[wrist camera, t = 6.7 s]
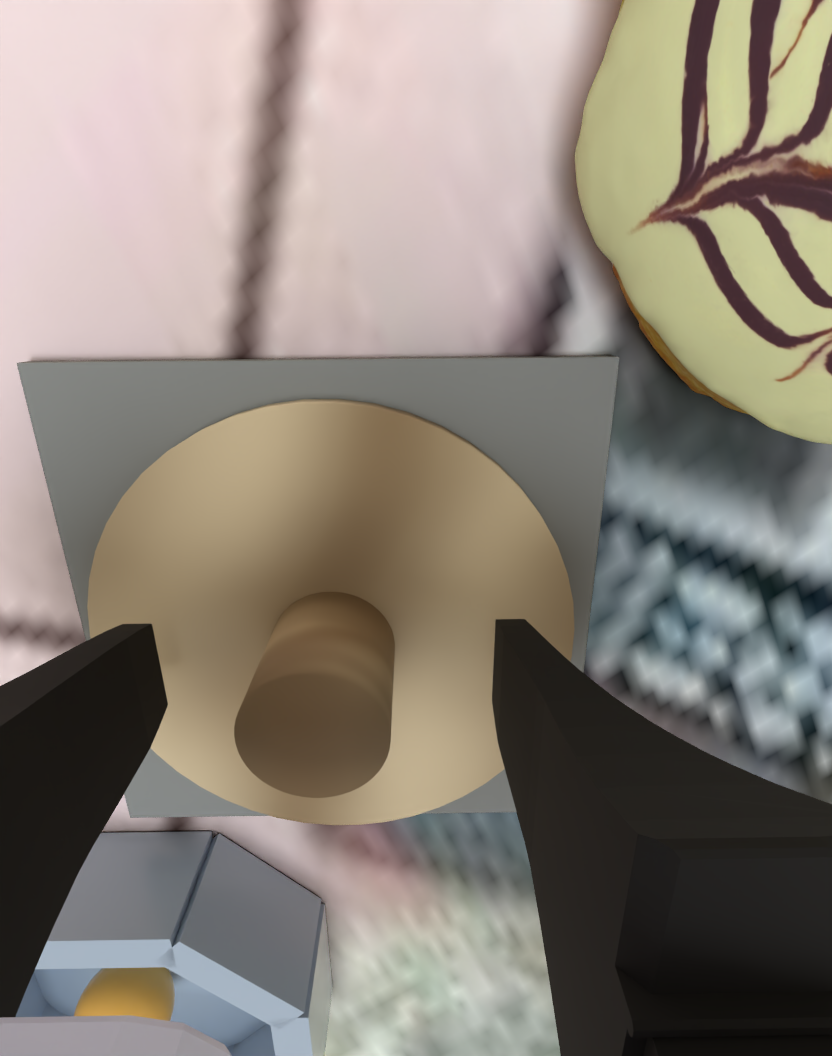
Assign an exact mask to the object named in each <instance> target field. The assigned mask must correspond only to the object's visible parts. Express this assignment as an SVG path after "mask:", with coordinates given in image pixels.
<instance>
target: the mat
mask: <svg viewBox="0 0 832 1056" xmlns="http://www.w3.org/2000/svg"><path fill="white" fill-rule="evenodd" d="M17 366H18V370H19V374H20V378H21V382H22V386H23V390H24V394H25V398H26V402H27V406H28V410H29V414H30V418H31V422H32V426H33V430H34V434H35V438H36V442H37V446H38V450H39V454H40V458H41V462H42V466H43V470H44V474H45V478H46V482H47V486H48V490H49V494H50V498H51V502H52V506H53V510H54V514H55V518H56V522H57V526H58V530H59V534H60V538H61V542H62V546H63V550H64V554H65V558H66V562H67V566H68V570H69V574H70V578H71V582H72V586H73V590H74V594H75V598H76V602H77V606H78V610H79V614H80V618H81V622H82V626H83V630H84V634H85V638H86V641H87V640H89V639H91V638H90V631H89V620H88V609H87V604H88V588H89V577H90V572H91V568H92V563H93V559H94V554H95V550H96V548H97V545H98V543H99V540H100V538H101V535H102V533H103V530H104V528H105V525H106V523H107V521H108V520H109V518H110V516H111V515H112V513H113V511H114V510H115V508H116V506H117V505H118V503H119V501H120V500H121V498H122V496H123V495H124V494H125V493H126V492H127V490H128V489H129V488H130V487H131V486H132V485H133V483H134V482H135V481H136V480H137V479H138V477H139V476H140V475H141V474H142V473H143V472H144V471H145V470H146V469H147V468H148V467H150V466H151V465H152V464H153V463H154V462H155V461H157V460H158V459H159V458H160V457H161V456H162V455H163V454H165V453H166V452H167V451H168V450H170V449H171V448H173V447H175V446H176V445H178V444H179V443H181V442H182V441H184V440H186V439H187V438H189V437H190V436H192V435H194V434H195V433H197V432H199V431H200V430H202V429H204V428H206V427H208V426H210V425H212V424H214V423H217V422H219V421H221V420H223V419H226V418H228V417H230V416H232V415H235V414H237V413H240V412H244V411H247V410H251V409H254V408H258V407H261V406H265V405H268V404H274V403H281V402H288V401H295V400H302V399H344V400H352V401H360V402H368V403H375V404H379V405H383V406H387V407H391V408H394V409H398V410H402V411H406V412H409V413H412V414H414V415H417V416H419V417H422V418H424V419H426V420H429V421H431V422H434V423H436V424H439V425H441V426H443V427H445V428H446V429H448V430H450V431H452V432H453V433H455V434H457V435H459V436H460V437H462V438H464V439H466V440H467V441H469V442H471V443H472V444H473V445H475V446H476V447H477V448H478V449H480V450H481V451H482V452H484V453H485V454H486V455H488V456H489V457H490V458H491V459H493V460H494V461H495V462H497V463H498V464H499V465H500V466H501V467H502V468H503V469H504V470H505V472H506V473H507V474H508V475H509V476H510V477H511V478H512V479H513V480H514V481H515V482H516V483H517V484H518V485H519V486H520V487H521V489H522V490H523V491H524V493H525V494H526V495H527V497H528V498H529V499H530V501H531V502H532V503H533V505H534V506H535V507H536V509H537V510H538V512H539V513H540V515H541V517H542V518H543V520H544V522H545V524H546V525H547V527H548V529H549V531H550V533H551V535H552V536H553V538H554V540H555V542H556V544H557V546H558V548H559V551H560V554H561V557H562V560H563V562H564V565H565V568H566V571H567V573H568V578H569V583H570V588H571V593H572V598H573V607H574V639H573V648H572V657H571V661H570V662H571V663H572V664H573V665H574V666H576V667H577V668H578V669H579V670H580V671H582V672H584V663H585V654H586V645H587V637H588V628H589V619H590V610H591V602H592V593H593V584H594V576H595V567H596V558H597V549H598V541H599V532H600V523H601V514H602V506H603V497H604V488H605V479H606V471H607V462H608V453H609V444H610V436H611V427H612V418H613V409H614V401H615V392H616V383H617V374H618V366H619V357H616V356H532V357H429V358H326V359H223V360H120V361H28V362H21V363H17ZM124 794H125V798H126V802H127V806H128V810H129V814H130V818H139V817H209V816H270V815H266V814H263V813H259V812H256V811H252V810H250V809H247V808H244V807H242V806H239V805H237V804H234V803H232V802H229V801H227V800H225V799H223V798H221V797H219V796H217V795H215V794H213V793H211V792H209V791H207V790H205V789H203V788H202V787H200V786H198V785H197V784H195V783H194V782H192V781H191V780H189V779H188V778H186V777H185V776H183V775H182V774H180V773H179V772H177V771H176V770H175V769H174V768H172V767H171V766H170V765H169V764H168V763H166V762H165V761H164V760H163V759H162V758H160V757H159V756H158V755H157V754H156V753H155V752H154V751H153V750H152V749H151V748H150V749H149V751H148V753H147V755H146V757H145V758H144V760H143V762H142V764H141V765H140V767H139V769H138V771H137V772H136V774H135V776H134V777H133V779H132V781H131V783H130V784H129V786H128V788H127V789H126V791H125V793H124ZM489 812H517V811H516V808H515V804H514V801H513V797H512V793H511V790H510V786H509V782H508V779H507V775H506V771H505V769H504V770H503V771H501V772H500V773H499V774H497V775H496V776H495V777H493V778H492V779H491V780H489V781H488V782H487V783H485V784H484V785H482V786H480V787H479V788H477V789H475V790H474V791H472V792H470V793H468V794H467V795H465V796H463V797H461V798H459V799H457V800H455V801H452V802H450V803H448V804H446V805H444V806H441V807H439V808H436V809H433V810H430V811H427V812H424V813H489Z"/></svg>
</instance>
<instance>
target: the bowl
mask: <svg viewBox="0 0 832 1056" xmlns="http://www.w3.org/2000/svg"><path fill="white" fill-rule="evenodd" d="M331 995H332V975H331V965H330V954H329V944H328V933H327V922H326V912H325V904H321V899H320V898H319V897H317V896H316V895H314V894H313V893H311V892H310V891H308V890H306V889H305V888H303V887H302V886H300V885H299V884H297V883H296V882H294V881H292V880H291V879H289V878H288V877H286V876H285V875H283V874H282V873H280V872H278V871H277V870H275V869H274V868H272V867H271V866H269V865H268V864H266V863H264V862H263V861H261V860H260V859H258V858H257V857H255V856H254V855H252V854H250V853H249V852H247V851H246V850H244V849H243V848H241V847H239V846H238V845H236V844H235V843H233V842H232V841H230V840H229V839H227V838H225V837H224V836H222V835H221V834H218V835H217V836H215V837H214V838H213V837H212V832H211V831H194V832H125V833H100V835H99V837H98V839H97V840H96V842H95V844H94V845H93V847H92V849H91V851H90V852H89V854H88V856H87V858H86V860H85V862H84V864H83V866H82V867H81V869H80V871H79V873H78V875H77V877H76V879H75V881H74V884H73V886H72V888H71V890H70V892H69V894H68V897H67V899H66V901H65V903H64V905H63V907H62V909H61V912H60V914H59V916H58V918H57V920H56V922H55V924H54V927H53V929H52V931H51V934H50V936H49V938H48V940H47V943H46V945H45V947H44V950H43V952H42V954H41V957H40V959H39V961H38V964H37V966H36V968H35V971H34V973H33V975H32V977H31V980H30V982H29V984H28V987H27V989H26V992H25V994H24V997H23V999H22V1002H21V1004H20V1007H19V1009H18V1012H17V1014H16V1017H62V1016H124V1015H131V1016H138V1017H145V1018H152V1019H159V1020H166V1021H173V1022H180V1023H184V1024H186V1025H188V1026H190V1027H192V1028H194V1029H196V1030H198V1031H200V1032H201V1033H203V1034H205V1035H207V1036H209V1037H211V1038H213V1039H215V1040H217V1041H219V1042H221V1043H222V1044H224V1045H225V1046H226V1047H227V1049H228V1050H229V1052H230V1054H231V1055H232V1056H325V1047H326V1038H327V1030H328V1021H329V1012H330V1004H331Z"/></svg>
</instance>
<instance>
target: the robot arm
mask: <svg viewBox="0 0 832 1056" xmlns="http://www.w3.org/2000/svg"><path fill="white" fill-rule="evenodd" d="M492 705H493V713H494V720H495V727H496V734H497V740H498V745H499V749H500V753H501V757H502V760H503V764H504V768H505V771H506V775H507V779H508V782H509V786H510V790H511V793H512V797H513V801H514V804H515V808H516V811H517V815H518V819H519V822H520V826H521V830H522V833H523V837H524V841H525V845H526V849H527V853H528V858H529V862H530V866H531V872H532V878H533V884H534V889H535V895H536V901H537V907H538V912H539V918H540V924H541V930H542V937H543V943H544V949H545V955H546V961H547V967H548V974H549V980H550V986H551V993H552V1000H553V1006H554V1013H555V1019H556V1026H557V1033H558V1039H559V1046H560V1053H561V1056H832V804H829V803H826V802H824V801H821V800H818V799H816V798H813V797H810V796H807V795H805V794H802V793H799V792H796V791H794V790H791V789H788V788H786V787H783V786H780V785H777V784H775V783H772V782H770V781H768V780H765V779H763V778H761V777H758V776H756V775H754V774H752V773H749V772H747V771H745V770H742V769H740V768H738V767H736V766H733V765H731V764H729V763H727V762H725V761H723V760H721V759H719V758H716V757H714V756H712V755H710V754H708V753H706V752H704V751H702V750H700V749H698V748H697V747H695V746H693V745H691V744H689V743H687V742H685V741H684V740H682V739H680V738H678V737H676V736H674V735H672V734H671V733H669V732H667V731H666V730H664V729H662V728H660V727H659V726H657V725H655V724H654V723H652V722H651V721H649V720H647V719H646V718H644V717H643V716H641V715H640V714H638V713H637V712H635V711H634V710H632V709H630V708H629V707H627V706H626V705H624V704H623V703H622V702H620V701H619V700H617V699H616V698H615V697H613V696H612V695H611V694H609V693H608V692H607V691H605V690H604V689H603V688H602V687H600V686H599V685H598V684H596V683H595V682H594V681H592V680H591V679H590V678H589V677H588V676H586V675H585V674H584V673H583V672H582V671H580V670H579V669H578V668H577V667H576V666H574V665H573V664H572V663H571V662H570V661H569V660H568V659H567V658H565V657H564V656H563V655H562V654H561V653H560V652H559V651H558V650H557V649H556V648H555V647H554V646H552V645H551V644H550V643H549V642H548V641H547V640H546V639H545V638H544V637H543V636H542V635H541V634H540V633H539V632H538V631H537V630H536V629H535V628H534V627H533V626H532V625H531V624H530V623H529V622H527V621H526V620H525V619H496V621H495V643H494V664H493V685H492ZM167 706H168V702H167V697H166V692H165V686H164V681H163V676H162V671H161V666H160V661H159V656H158V651H157V646H156V641H155V636H154V631H153V626H152V624H121V625H119V626H116V627H114V628H112V629H109V630H107V631H105V632H103V633H101V634H99V635H97V636H95V637H93V638H91V639H89V640H87V641H85V642H84V643H82V644H80V645H78V646H76V647H74V648H72V649H70V650H69V651H67V652H65V653H63V654H61V655H59V656H57V657H56V658H54V659H52V660H50V661H48V662H46V663H44V664H42V665H41V666H39V667H37V668H35V669H33V670H31V671H29V672H27V673H26V674H24V675H22V676H20V677H18V678H16V679H14V680H12V681H10V682H8V683H6V684H4V685H2V686H0V1056H232V1055H231V1054H230V1052H229V1050H228V1049H227V1047H226V1046H225V1045H224V1044H222V1043H221V1042H219V1041H217V1040H215V1039H213V1038H211V1037H209V1036H207V1035H205V1034H203V1033H201V1032H200V1031H198V1030H196V1029H194V1028H192V1027H190V1026H188V1025H186V1024H184V1023H180V1022H173V1021H166V1020H159V1019H152V1018H145V1017H138V1016H131V1015H124V1016H62V1017H16V1014H17V1012H18V1009H19V1007H20V1004H21V1002H22V999H23V997H24V994H25V992H26V989H27V987H28V984H29V982H30V980H31V977H32V975H33V973H34V971H35V968H36V966H37V964H38V961H39V959H40V957H41V954H42V952H43V950H44V947H45V945H46V943H47V940H48V938H49V936H50V934H51V931H52V929H53V927H54V924H55V922H56V920H57V918H58V916H59V914H60V912H61V909H62V907H63V905H64V903H65V901H66V899H67V897H68V894H69V892H70V890H71V888H72V886H73V884H74V881H75V879H76V877H77V875H78V873H79V871H80V869H81V867H82V866H83V864H84V862H85V860H86V858H87V856H88V854H89V852H90V851H91V849H92V847H93V845H94V844H95V842H96V840H97V839H98V837H99V835H100V833H101V832H102V830H103V828H104V827H105V825H106V823H107V822H108V820H109V818H110V817H111V815H112V813H113V811H114V810H115V808H116V806H117V805H118V803H119V801H120V800H121V798H122V796H123V795H124V793H125V791H126V789H127V788H128V786H129V784H130V783H131V781H132V779H133V777H134V776H135V774H136V772H137V771H138V769H139V767H140V765H141V764H142V762H143V760H144V758H145V757H146V755H147V753H148V751H149V749H150V748H151V745H152V743H153V741H154V738H155V736H156V734H157V731H158V729H159V727H160V724H161V721H162V719H163V716H164V714H165V711H166V709H167Z"/></svg>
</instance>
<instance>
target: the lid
mask: <svg viewBox="0 0 832 1056" xmlns="http://www.w3.org/2000/svg"><path fill="white" fill-rule="evenodd" d="M87 609H88V620H89V631H90V638H93V637H95V636H97V635H99V634H101V633H103V632H105V631H107V630H109V629H112V628H114V627H116V626H119V625H121V624H152V626H153V631H154V636H155V641H156V646H157V651H158V656H159V661H160V666H161V671H162V676H163V681H164V686H165V692H166V697H167V702H168V706H167V709H166V711H165V714H164V716H163V719H162V721H161V724H160V727H159V729H158V731H157V734H156V736H155V738H154V741H153V743H152V745H151V749H152V750H153V751H154V752H155V753H156V754H157V755H158V756H159V757H160V758H162V759H163V760H164V761H165V762H166V763H168V764H169V765H170V766H171V767H172V768H174V769H175V770H176V771H177V772H179V773H180V774H182V775H183V776H185V777H186V778H188V779H189V780H191V781H192V782H194V783H195V784H197V785H198V786H200V787H202V788H203V789H205V790H207V791H209V792H211V793H213V794H215V795H217V796H219V797H221V798H223V799H225V800H227V801H229V802H232V803H234V804H237V805H239V806H242V807H244V808H247V809H250V810H252V811H256V812H259V813H263V814H266V815H270V816H273V817H277V818H282V819H287V820H293V821H298V822H303V823H314V824H325V825H362V824H371V823H380V822H388V821H392V820H397V819H402V818H406V817H411V816H415V815H418V814H421V813H424V812H427V811H430V810H433V809H436V808H439V807H441V806H444V805H446V804H448V803H450V802H452V801H455V800H457V799H459V798H461V797H463V796H465V795H467V794H468V793H470V792H472V791H474V790H475V789H477V788H479V787H480V786H482V785H484V784H485V783H487V782H488V781H489V780H491V779H492V778H493V777H495V776H496V775H497V774H499V773H500V772H501V771H503V770H504V769H505V768H504V764H503V760H502V757H501V753H500V749H499V745H498V740H497V734H496V727H495V720H494V713H493V705H492V685H493V664H494V643H495V621H496V619H525V620H526V621H527V622H529V623H530V624H531V625H532V626H533V627H534V628H535V629H536V630H537V631H538V632H539V633H540V634H541V635H542V636H543V637H544V638H545V639H546V640H547V641H548V642H549V643H550V644H551V645H552V646H554V647H555V648H556V649H557V650H558V651H559V652H560V653H561V654H562V655H563V656H564V657H565V658H567V659H568V660H569V661H571V657H572V648H573V639H574V607H573V598H572V593H571V588H570V583H569V578H568V573H567V571H566V568H565V565H564V562H563V560H562V557H561V554H560V551H559V548H558V546H557V544H556V542H555V540H554V538H553V536H552V535H551V533H550V531H549V529H548V527H547V525H546V524H545V522H544V520H543V518H542V517H541V515H540V513H539V512H538V510H537V509H536V507H535V506H534V505H533V503H532V502H531V501H530V499H529V498H528V497H527V495H526V494H525V493H524V491H523V490H522V489H521V487H520V486H519V485H518V484H517V483H516V482H515V481H514V480H513V479H512V478H511V477H510V476H509V475H508V474H507V473H506V472H505V470H504V469H503V468H502V467H501V466H500V465H499V464H498V463H497V462H495V461H494V460H493V459H491V458H490V457H489V456H488V455H486V454H485V453H484V452H482V451H481V450H480V449H478V448H477V447H476V446H475V445H473V444H472V443H471V442H469V441H467V440H466V439H464V438H462V437H460V436H459V435H457V434H455V433H453V432H452V431H450V430H448V429H446V428H445V427H443V426H441V425H439V424H436V423H434V422H431V421H429V420H426V419H424V418H422V417H419V416H417V415H414V414H412V413H409V412H406V411H402V410H398V409H394V408H391V407H387V406H383V405H379V404H375V403H368V402H360V401H352V400H344V399H302V400H295V401H288V402H281V403H274V404H268V405H265V406H261V407H258V408H254V409H251V410H247V411H244V412H240V413H237V414H235V415H232V416H230V417H228V418H226V419H223V420H221V421H219V422H217V423H214V424H212V425H210V426H208V427H206V428H204V429H202V430H200V431H199V432H197V433H195V434H194V435H192V436H190V437H189V438H187V439H186V440H184V441H182V442H181V443H179V444H178V445H176V446H175V447H173V448H171V449H170V450H168V451H167V452H166V453H165V454H163V455H162V456H161V457H160V458H159V459H158V460H157V461H155V462H154V463H153V464H152V465H151V466H150V467H148V468H147V469H146V470H145V471H144V472H143V473H142V474H141V475H140V476H139V477H138V479H137V480H136V481H135V482H134V483H133V485H132V486H131V487H130V488H129V489H128V490H127V492H126V493H125V494H124V495H123V496H122V498H121V500H120V501H119V503H118V505H117V506H116V508H115V510H114V511H113V513H112V515H111V516H110V518H109V520H108V521H107V523H106V525H105V528H104V530H103V533H102V535H101V538H100V540H99V543H98V545H97V548H96V550H95V554H94V559H93V563H92V568H91V572H90V577H89V588H88V604H87Z"/></svg>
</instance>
